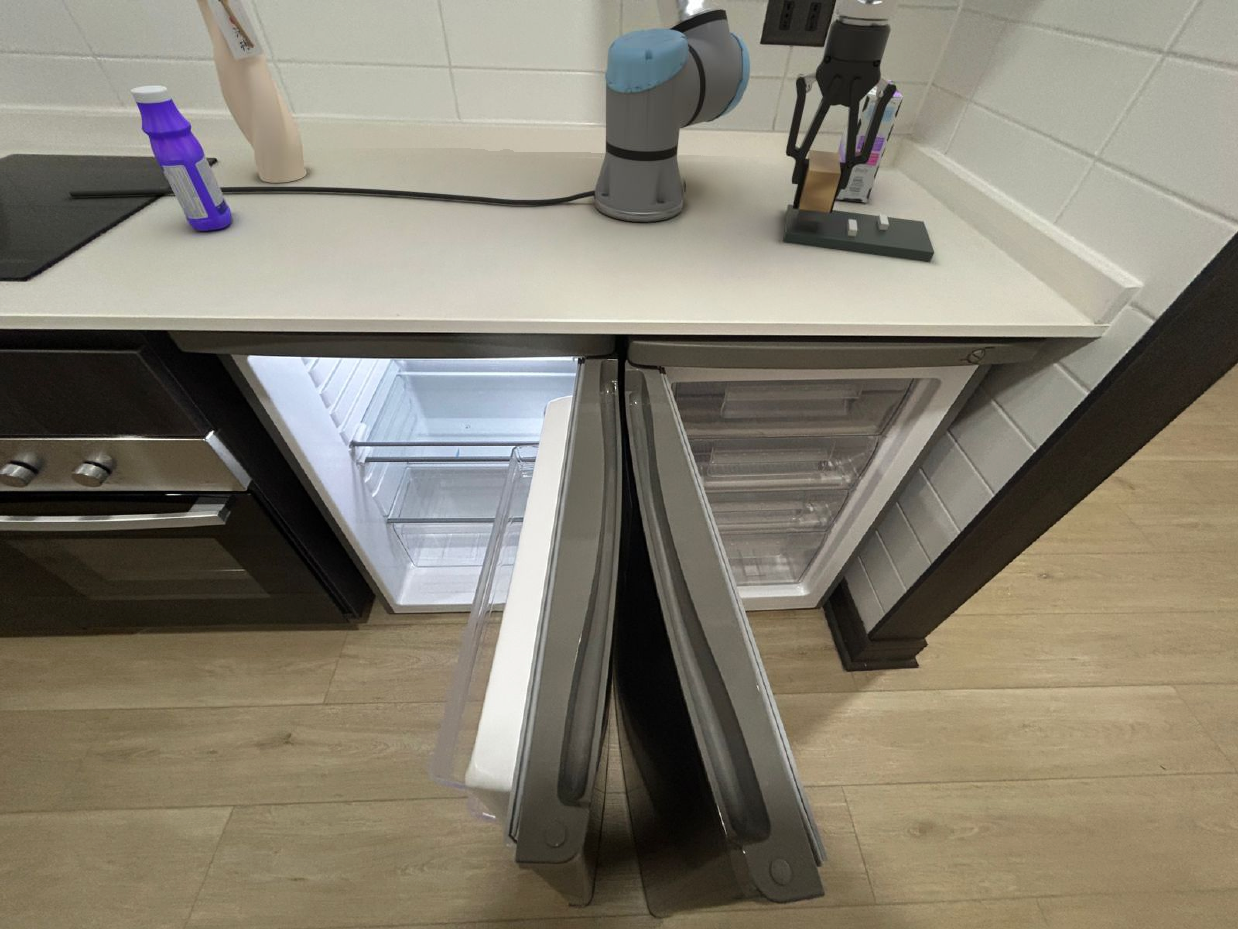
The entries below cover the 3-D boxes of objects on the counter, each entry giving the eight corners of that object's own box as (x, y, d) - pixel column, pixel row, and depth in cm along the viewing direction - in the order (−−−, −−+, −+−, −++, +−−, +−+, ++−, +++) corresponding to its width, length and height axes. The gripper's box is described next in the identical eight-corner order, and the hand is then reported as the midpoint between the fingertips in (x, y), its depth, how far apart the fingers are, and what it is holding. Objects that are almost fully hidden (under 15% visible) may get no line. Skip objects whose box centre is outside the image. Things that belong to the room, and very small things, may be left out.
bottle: (194, 217, 86) (126, 83, 73) (235, 212, 87) (176, 80, 75) (190, 235, 81) (116, 96, 68) (233, 230, 83) (169, 93, 70)
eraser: (796, 219, 85) (809, 169, 80) (798, 196, 92) (809, 149, 87) (826, 222, 84) (841, 173, 79) (825, 199, 91) (839, 152, 86)
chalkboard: (783, 241, 87) (785, 232, 86) (786, 213, 95) (788, 204, 94) (930, 261, 83) (934, 252, 82) (920, 230, 92) (923, 221, 90)
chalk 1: (855, 236, 85) (857, 229, 85) (847, 235, 86) (849, 228, 85) (854, 226, 88) (856, 219, 87) (846, 225, 88) (848, 218, 88)
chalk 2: (886, 230, 87) (889, 224, 87) (878, 229, 88) (881, 223, 87) (884, 220, 90) (886, 214, 89) (876, 219, 90) (879, 213, 90)
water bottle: (326, 175, 100) (260, -33, 80) (282, 189, 94) (198, -30, 74) (291, 163, 103) (218, -39, 83) (245, 176, 98) (156, -36, 78)
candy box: (867, 204, 99) (904, 96, 87) (834, 200, 100) (866, 93, 88) (860, 178, 109) (892, 77, 97) (829, 175, 109) (858, 75, 97)
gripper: (792, 19, 70) (754, 209, 86) (938, 29, 67) (871, 223, 84) (793, 12, 75) (758, 193, 92) (930, 21, 72) (867, 205, 89)
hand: (812, 207), depth 88 cm, fingers closed on eraser, 4 cm apart
